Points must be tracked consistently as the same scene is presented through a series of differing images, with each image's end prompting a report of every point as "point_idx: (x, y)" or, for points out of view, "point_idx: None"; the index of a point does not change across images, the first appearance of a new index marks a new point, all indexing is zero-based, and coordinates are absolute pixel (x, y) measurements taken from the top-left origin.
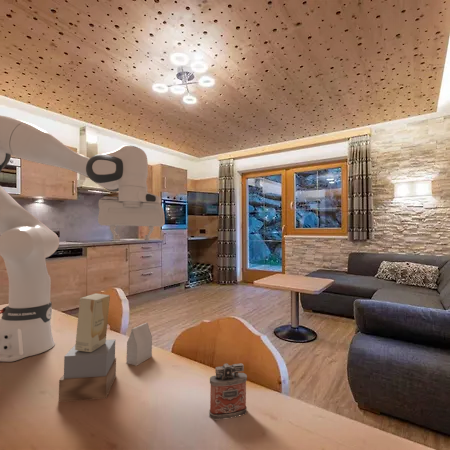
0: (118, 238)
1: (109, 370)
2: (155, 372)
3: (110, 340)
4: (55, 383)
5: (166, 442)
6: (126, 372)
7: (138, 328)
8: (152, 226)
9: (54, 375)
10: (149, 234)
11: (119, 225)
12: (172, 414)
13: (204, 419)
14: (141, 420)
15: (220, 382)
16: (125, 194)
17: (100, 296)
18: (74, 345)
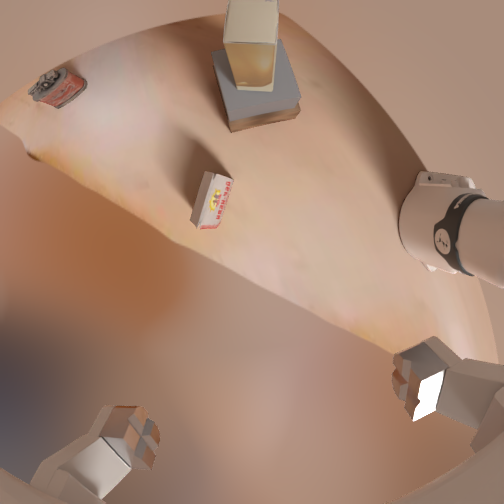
0: (401, 363)
1: (218, 82)
2: (168, 155)
3: (235, 104)
4: (315, 105)
5: (124, 39)
6: (218, 146)
7: (207, 191)
8: (31, 485)
9: (333, 127)
10: (82, 437)
11: (474, 454)
12: (123, 71)
13: (91, 76)
14: (154, 53)
15: (57, 71)
16: None
17: (239, 20)
18: (294, 76)
